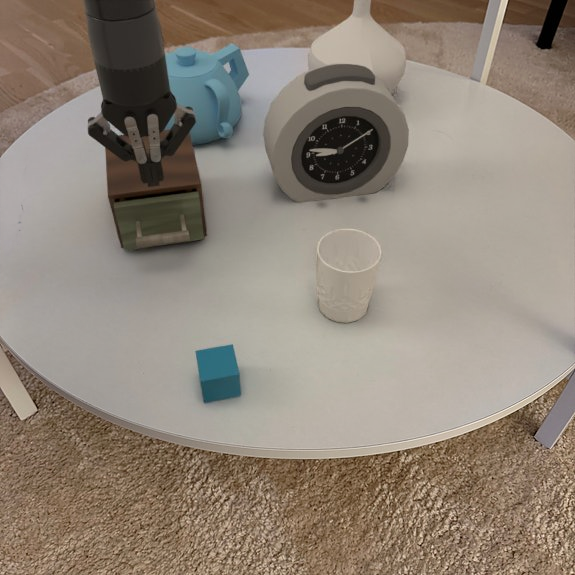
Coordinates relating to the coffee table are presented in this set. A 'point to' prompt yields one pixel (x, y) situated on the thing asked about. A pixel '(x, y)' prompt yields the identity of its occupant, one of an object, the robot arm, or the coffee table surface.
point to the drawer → (159, 219)
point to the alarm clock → (334, 134)
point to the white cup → (346, 273)
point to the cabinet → (177, 177)
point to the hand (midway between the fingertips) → (153, 182)
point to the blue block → (218, 373)
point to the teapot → (208, 89)
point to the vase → (361, 47)
